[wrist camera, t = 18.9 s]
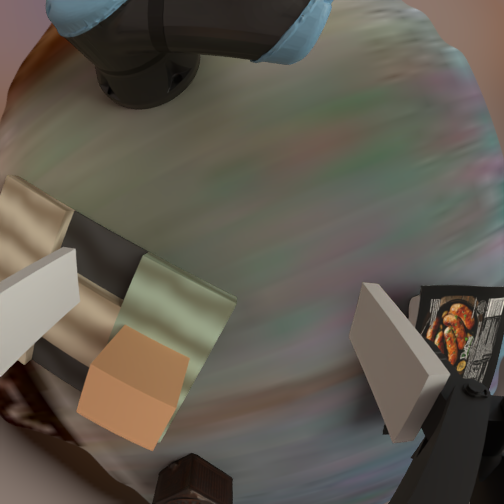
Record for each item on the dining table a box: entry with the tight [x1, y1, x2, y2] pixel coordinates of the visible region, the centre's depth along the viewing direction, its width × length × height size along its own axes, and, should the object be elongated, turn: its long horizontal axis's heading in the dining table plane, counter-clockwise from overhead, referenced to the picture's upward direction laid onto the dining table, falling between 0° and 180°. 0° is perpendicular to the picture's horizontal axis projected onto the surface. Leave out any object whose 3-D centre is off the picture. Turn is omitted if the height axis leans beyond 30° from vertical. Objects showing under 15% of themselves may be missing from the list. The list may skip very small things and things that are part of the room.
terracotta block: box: [76, 325, 190, 451], centre depth 35 cm, size 8×10×12 cm
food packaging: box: [383, 285, 504, 434], centre depth 43 cm, size 25×8×23 cm
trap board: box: [0, 175, 237, 443], centre depth 41 cm, size 28×40×3 cm
